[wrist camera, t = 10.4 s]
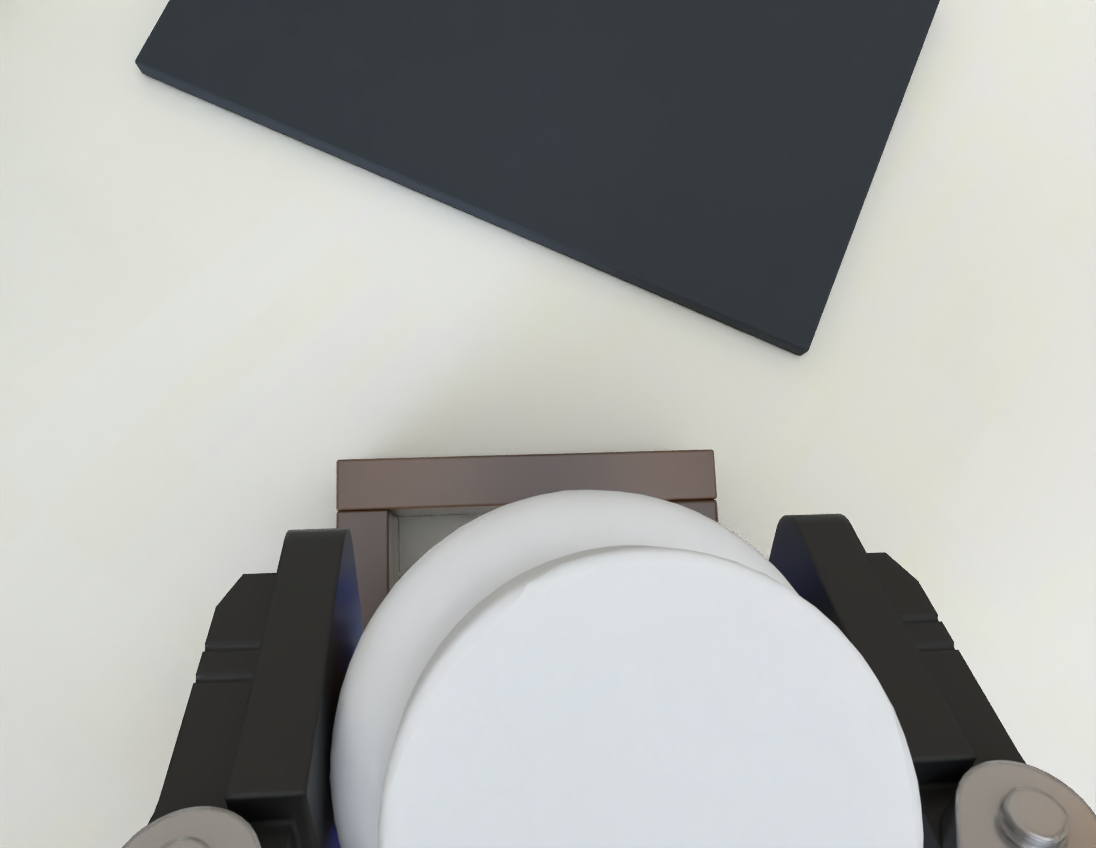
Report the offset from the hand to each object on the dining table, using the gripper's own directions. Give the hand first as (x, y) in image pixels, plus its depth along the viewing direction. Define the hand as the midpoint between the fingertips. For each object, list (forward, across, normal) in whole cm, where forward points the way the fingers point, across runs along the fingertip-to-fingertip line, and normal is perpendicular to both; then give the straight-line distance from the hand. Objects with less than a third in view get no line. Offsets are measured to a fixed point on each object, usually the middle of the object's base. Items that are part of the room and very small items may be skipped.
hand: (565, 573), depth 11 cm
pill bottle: (+2, 0, +5) cm, 5 cm away
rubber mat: (+19, -2, -2) cm, 19 cm away
